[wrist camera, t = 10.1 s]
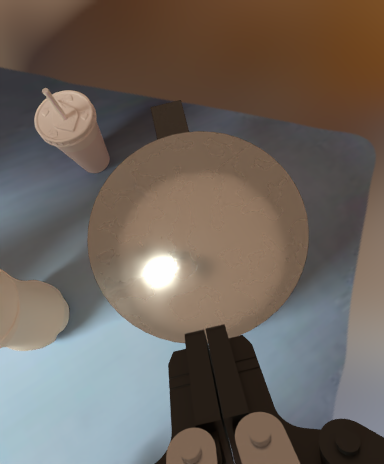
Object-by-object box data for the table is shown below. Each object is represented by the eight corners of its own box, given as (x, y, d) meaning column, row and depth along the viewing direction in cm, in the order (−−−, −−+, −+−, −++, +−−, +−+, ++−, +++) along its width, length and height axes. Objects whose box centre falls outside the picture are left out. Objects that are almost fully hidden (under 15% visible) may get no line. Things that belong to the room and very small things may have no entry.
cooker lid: (335, 314, 28) (341, 312, 26) (110, 366, 28) (104, 368, 27) (258, 89, 34) (260, 78, 33) (77, 133, 35) (70, 125, 33)
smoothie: (85, 191, 44) (25, 128, 31) (63, 155, 46) (-2, 80, 32) (128, 165, 45) (88, 92, 31) (105, 130, 46) (58, 46, 33)
